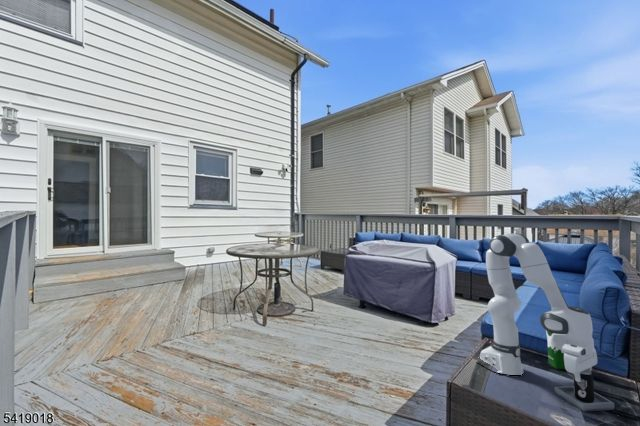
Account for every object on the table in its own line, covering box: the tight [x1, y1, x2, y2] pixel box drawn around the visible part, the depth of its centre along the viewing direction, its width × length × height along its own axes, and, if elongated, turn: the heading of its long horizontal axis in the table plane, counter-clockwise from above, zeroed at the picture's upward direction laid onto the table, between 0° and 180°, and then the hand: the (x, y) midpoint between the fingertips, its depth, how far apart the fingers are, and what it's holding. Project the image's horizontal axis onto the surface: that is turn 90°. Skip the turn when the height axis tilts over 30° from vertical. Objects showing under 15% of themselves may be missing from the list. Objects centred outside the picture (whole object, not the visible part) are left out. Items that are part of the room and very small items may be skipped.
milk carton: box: [545, 330, 567, 370], centre depth 160 cm, size 9×9×20 cm
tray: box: [554, 385, 616, 412], centre depth 128 cm, size 14×14×3 cm
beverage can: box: [572, 369, 595, 403], centre depth 128 cm, size 7×7×12 cm
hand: (583, 378), depth 128 cm, fingers closed on beverage can, 6 cm apart
